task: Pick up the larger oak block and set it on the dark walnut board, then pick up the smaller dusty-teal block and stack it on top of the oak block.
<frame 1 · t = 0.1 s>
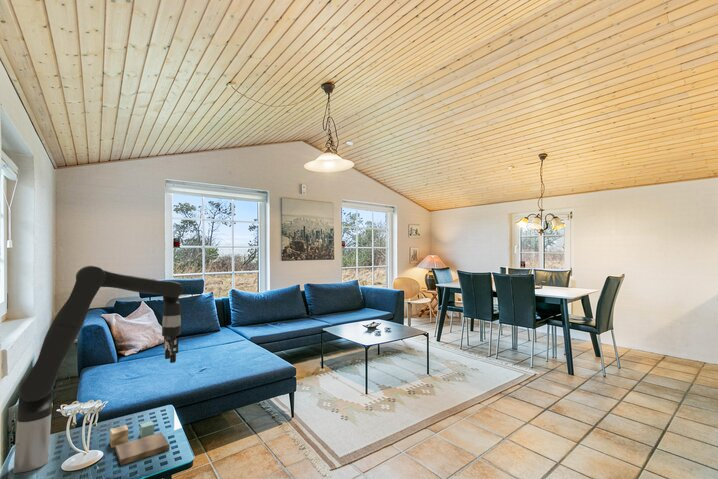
hand: (170, 360, 158), 29 cm above the table, tool pointing down, fingers open, 8 cm apart
oak block: (118, 443, 141), on the table
teal block: (146, 434, 148), on the table
walnut board: (142, 450, 135), on the table
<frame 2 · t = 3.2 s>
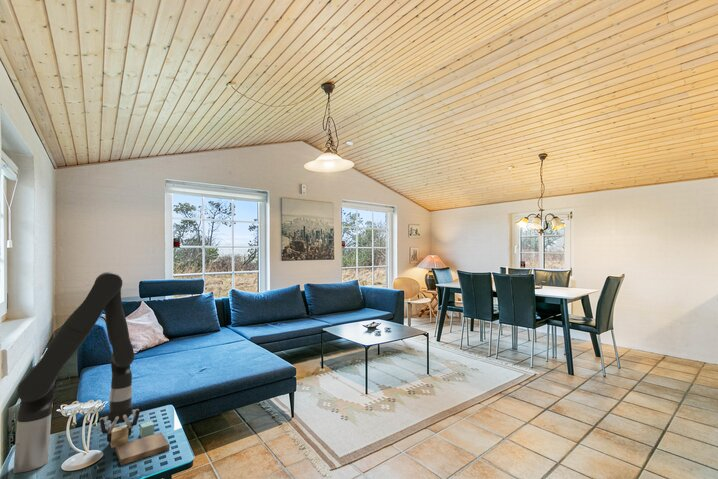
hand: (118, 439, 141), 1 cm above the table, tool pointing down, fingers closed on oak block, 5 cm apart
oak block: (118, 443, 141), on the table, touching gripper
everything else where it was.
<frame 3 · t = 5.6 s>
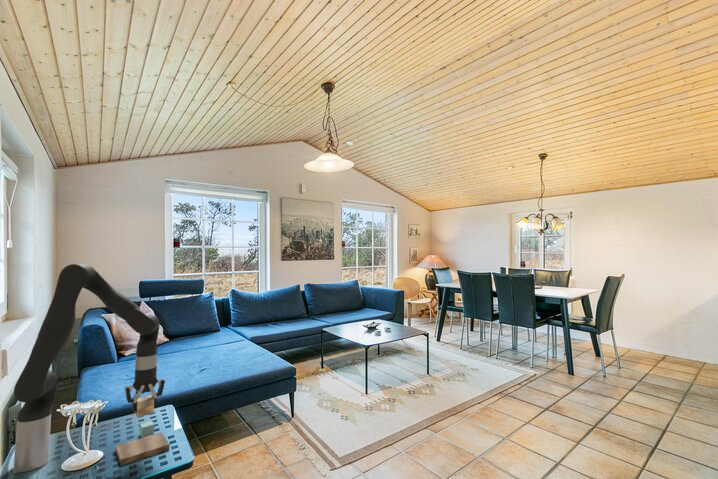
hand: (144, 409, 137), 16 cm above the table, tool pointing down, fingers closed on oak block, 5 cm apart
oak block: (144, 413, 136), point 14 cm above the table, touching gripper
everything else where it was.
when the fingers open (4 cm above the table, at t = 8.1 s): oak block drops 1 cm, resting on walnut board.
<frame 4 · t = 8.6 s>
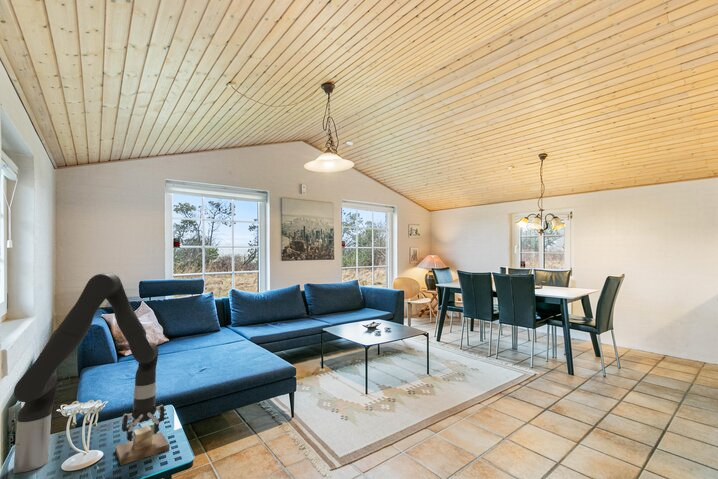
hand: (143, 436, 136), 5 cm above the table, tool pointing down, fingers open, 8 cm apart
oak block: (142, 444, 135), point 2 cm above the table, touching walnut board
everything else where it was.
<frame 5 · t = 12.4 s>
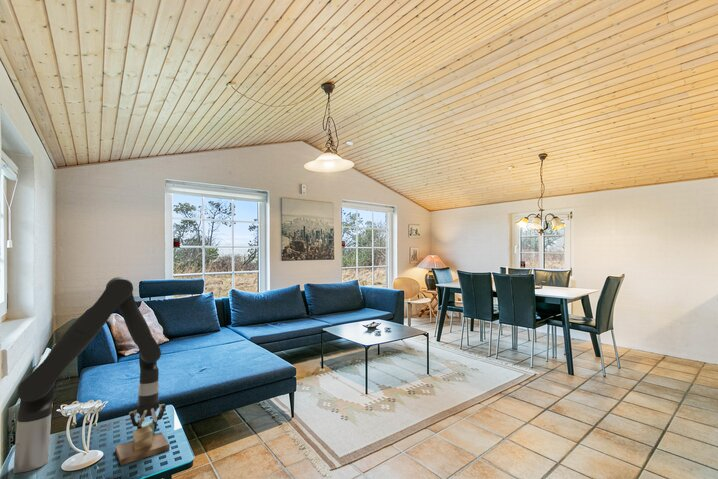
hand: (146, 432, 148), 1 cm above the table, tool pointing down, fingers closed on teal block, 4 cm apart
teal block: (146, 434, 148), on the table, touching gripper
everything else where it was.
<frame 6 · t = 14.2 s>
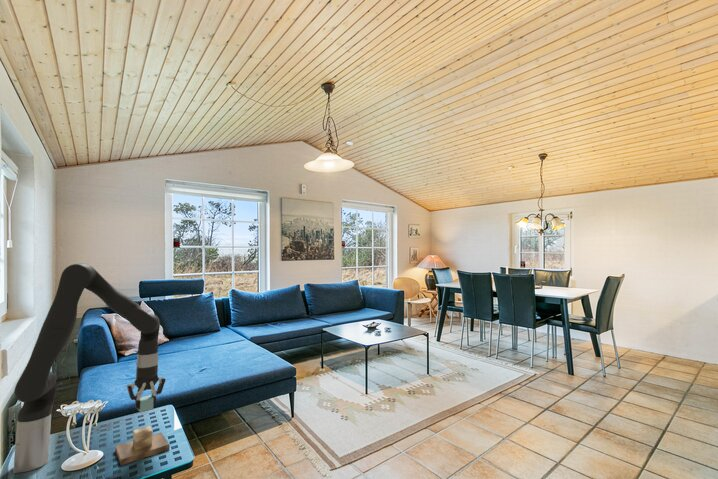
hand: (145, 406, 140), 15 cm above the table, tool pointing down, fingers closed on teal block, 4 cm apart
teal block: (145, 409, 140), point 14 cm above the table, touching gripper
everything else where it was.
when the fingers open (9 cm above the table, at t = 16.2 s): teal block drops 1 cm, resting on oak block.
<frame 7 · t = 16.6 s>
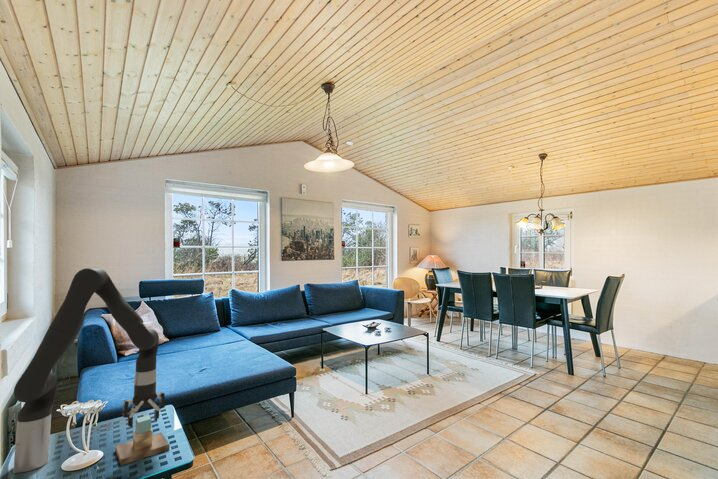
hand: (143, 423, 136), 10 cm above the table, tool pointing down, fingers open, 8 cm apart
oak block: (142, 444, 135), point 2 cm above the table, touching teal block, walnut board
teal block: (143, 430, 136), point 7 cm above the table, touching oak block
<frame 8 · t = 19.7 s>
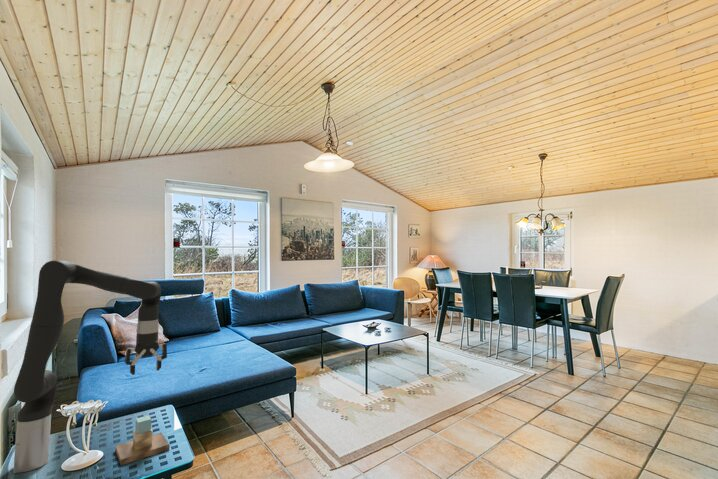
hand: (145, 372, 137), 30 cm above the table, tool pointing down, fingers open, 8 cm apart
nothing on the table moved.
at the end: oak block 0.1 cm off-centre on the walnut board, point 2.0 cm above the walnut board's base; teal block 0.0 cm off-centre on the oak block, point 5.5 cm above the oak block's base; teal block tilted 0° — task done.
